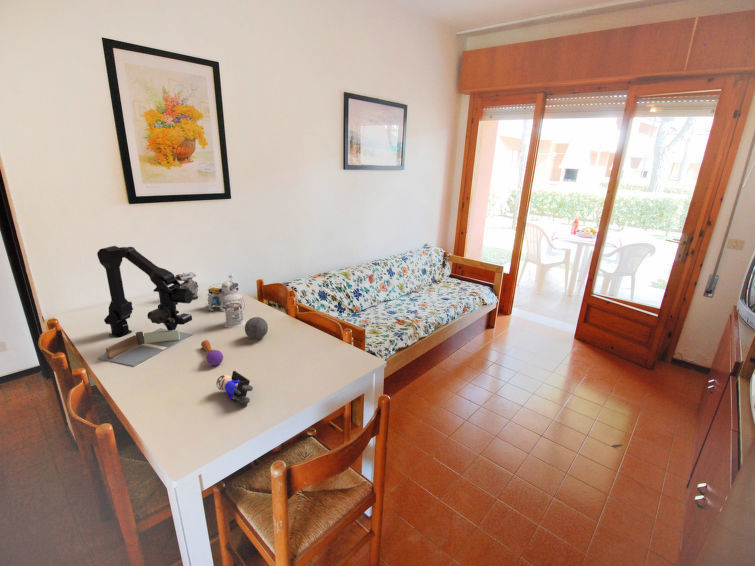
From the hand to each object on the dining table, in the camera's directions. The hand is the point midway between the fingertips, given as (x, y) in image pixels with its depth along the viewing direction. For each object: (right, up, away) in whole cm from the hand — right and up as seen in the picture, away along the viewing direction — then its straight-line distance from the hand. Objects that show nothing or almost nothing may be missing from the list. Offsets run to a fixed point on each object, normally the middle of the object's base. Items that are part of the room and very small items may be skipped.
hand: (172, 334), depth 163 cm
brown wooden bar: (-12, -5, -12) cm, 17 cm away
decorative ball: (+36, -2, +4) cm, 37 cm away
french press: (+21, +3, +19) cm, 28 cm away
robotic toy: (+7, +9, +38) cm, 39 cm away
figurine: (-19, +14, +49) cm, 54 cm away
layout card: (-6, -4, -7) cm, 10 cm away
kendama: (+23, -8, -13) cm, 28 cm away
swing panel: (-2, -2, -3) cm, 5 cm away
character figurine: (+43, -16, -38) cm, 60 cm away
